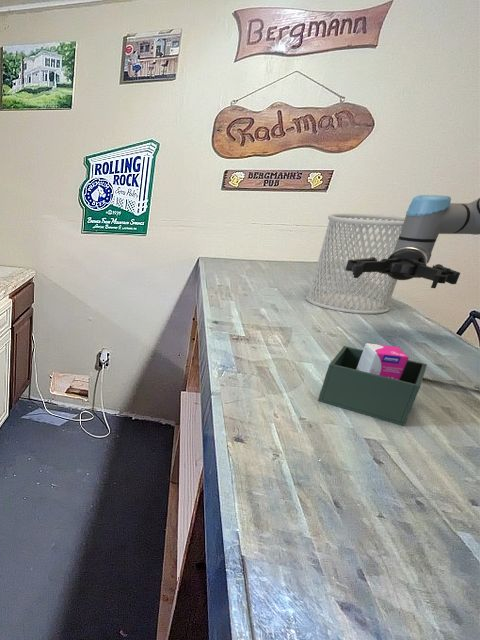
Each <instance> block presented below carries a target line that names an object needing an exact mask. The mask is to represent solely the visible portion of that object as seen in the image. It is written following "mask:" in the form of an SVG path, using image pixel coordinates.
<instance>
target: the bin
mask: <svg viewBox="0 0 480 640" xmlns="http://www.w3.org/2000/svg"><path fill="white" fill-rule="evenodd" d="M363 350H364V349H360V348H356V347H351V346H347V345H343V346H342V347H341V349H340V351H338V353H337V354H336V355H335V357H334V358H333V359H332V360H331V361H330V363H329V364H328V367H327V370H326V373H325V377H324V380H323V383H322V386H321V389H320V393H319V396H318V399H317V401H318V402H321V403H324V404H327V405H331V406H334V407H338V408H340V409H344V410H348V411H351V412H355V413H358V414H361V415H364V416H367V417H368V416H369V417H372V418H375V419H378V420H382V421H385V422H389V423H393V424H397V425H398V426H399V425H400V426H403V427H404V426H405V424H406V423H407V420H408V418H409V415H410V414H411V413H410V412H411V410H412V408H413V405H414V403H415V400H416V398H417V395H418V394H419V391H420V388H421V385H422V382H423V379H424V376H425V373H426V369H427V367H428V364H427V363H424V362H419V361H414V360H410V359H408V361H407V363H406V366H405V368H404V371H403V373H402V375H401V378H400V380H396V379H392V378H388V377H384V376H380V375H376V374H372V373H368V372H363V371H359V370H356V369H357V366H358V363H359V361H360V358H361V355H362V352H363Z"/></svg>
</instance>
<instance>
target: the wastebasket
mask: <svg viewBox="0 0 480 640" xmlns="http://www.w3.org/2000/svg"><path fill="white" fill-rule="evenodd" d="M405 217H406V216H402V215H394V214H393V215H391V214H379V213H352V212H351V213H350V212H348V213H346V212H345V213H331V214H329V215H328V216H327V219H328V223H327V228H326V231H325V235H324V238H323V242H322V245H321V249H320V252H319V257H318V260H317V263H316V267H315V271H314V274H313V278H312V281H311V285H310V289H309V292H308V295H306V297H305V299H306V301H307V302H309V303H310V304H312V305H315V306H317V307H320V308H323V309H327V310H331V311H337V312H342V313H349V314H350V313H351V314H360V315H378V314H385V313H387V312H388V311H389V310H390V307H389V305H390V302H391V299H392V297H393V293H394V291H395V288H396V285H397V282H398V280H396V279H393V278H391V277H390V276H389V275H388V274H382V273H379V272H363V273H362V274H361V275H360V276H359V277H358V278H353V277H354V275H353V272H352V271H346V270H345V269H346V266H347V262H348V260H355V259H366V258H371V257H375V258H376V259H377V261H381V260H382V259H388V257H389V256H390V255H391V254H392V253H393V252H394V249H395V247H396V244H397V241H398V239H399V236H400V233H401V230H402V227H403V224H404V220H405ZM357 229H358V230H357ZM363 229H364V230H365V231H364V232H363ZM370 229H371V230H372V231H371V232H369V230H370ZM377 229H378V231H377V232H376V230H377ZM383 230H384V232H383ZM389 232H390V233H389ZM358 235H359V237H358ZM365 235H366V237H365ZM371 236H373V238H372V239H371ZM378 237H379V238H378ZM377 238H378V239H377ZM384 238H385V239H384ZM353 242H354V243H353ZM359 242H360V243H359ZM366 242H367V245H366ZM373 243H374V244H373ZM372 244H373V245H372ZM379 244H380V245H379ZM367 250H368V251H367ZM373 251H374V252H373ZM341 258H342V259H341ZM332 269H333V270H332ZM343 269H344V272H343ZM337 270H338V271H337ZM333 275H334V276H333ZM338 275H339V277H338ZM344 277H345V278H344ZM334 281H335V283H334ZM339 282H340V283H339ZM345 283H346V284H345ZM329 287H331V288H329ZM335 287H336V288H335ZM334 288H335V289H334ZM340 289H341V290H340Z"/></svg>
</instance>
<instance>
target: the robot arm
mask: <svg viewBox="0 0 480 640" xmlns="http://www.w3.org/2000/svg"><path fill="white" fill-rule="evenodd" d="M451 201H452V198H451V196H449V195H438V194H437V195H436V194H417V195H416V196H414V197H413V198H412V199H411V201H410V204H409V205H408V208H407V210H406V212H405V216H404V217H405V220H404V224H403V227H402V230H401V231H400V236H399V235H398V237H399V239H398V241H397V244H396V243H395V244H396V246H395V249H393V251H394V252H393V253H392V252H391V253H392V254H391V253H390V256H389V257H387V258H386V259H382V258H381V259H382V260H381V259H380V260H381V261H380V260H379V261H377V259H376V256H375V257H371V258H370V257H367V258H366V259H362V258H361V259H360V258H359V259H355V260H354V259H353V260H348V259H347V261H348V262H347V266H346V265H345V267H346V269H345V270H346V271H348V272H350V271H352V272H353V276H354V277H353V279H354V278H356V279H358V277H360V275H361V274H362V273H363V272H365V273H366V272H372V273H373V272H375V273H376V272H378V274H379V273H382V275H384V274H387V276H388V275H389V276H390V277H391V278H393V279H396V280H397V281H407V280H411V279H414V278H415V279H421V278H422V279H425V280H430V281H432V284H431V286H430V289H436V288H437V285H438V284H446V283H447V284H450V285H457V283H458V281H459V278H460V275H461V272H460V271H457V270H454V269H452V268H449V267H446V266H443V264H441V263H438V264H433V265H432V266H429V265H428V263H429V262H430V260H431V257H432V252H433V249H434V247H435V244H436V242H437V239H438V237H439V235H473V236H474V235H477V236H478V235H480V197H479V198H477V199H474V200H472V201H471V202H467V203H462V202H461V203H456V202H451ZM345 270H344V271H345Z"/></svg>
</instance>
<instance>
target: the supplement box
mask: <svg viewBox="0 0 480 640" xmlns="http://www.w3.org/2000/svg"><path fill="white" fill-rule="evenodd" d="M362 350H363V352H362V355H361V358H360V361H359V363H358V366H357V369H356V370H359V371H363V372H368V373H372V374H376V375H380V376H384V377H388V378H392V379H396V380H400V378H401V375H402V373H403V371H404V368H405V366H406V363H407V361H408V360H409V356H408V355H407V354H406V353H405V352H404V350H403V351H402V349H401V348H400V347H399V346H393V345H385V344H377V343H369V342H367V343H365V344H364V347H363V349H362Z"/></svg>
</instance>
